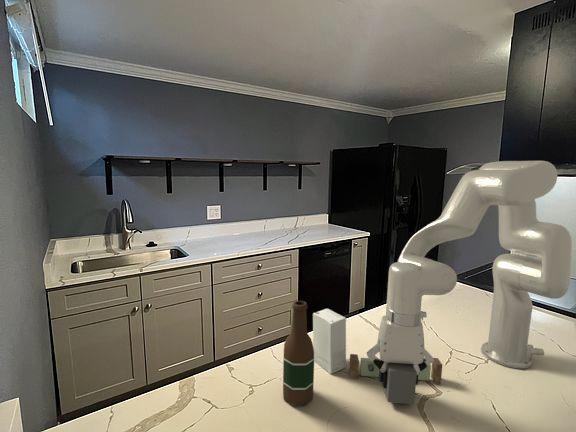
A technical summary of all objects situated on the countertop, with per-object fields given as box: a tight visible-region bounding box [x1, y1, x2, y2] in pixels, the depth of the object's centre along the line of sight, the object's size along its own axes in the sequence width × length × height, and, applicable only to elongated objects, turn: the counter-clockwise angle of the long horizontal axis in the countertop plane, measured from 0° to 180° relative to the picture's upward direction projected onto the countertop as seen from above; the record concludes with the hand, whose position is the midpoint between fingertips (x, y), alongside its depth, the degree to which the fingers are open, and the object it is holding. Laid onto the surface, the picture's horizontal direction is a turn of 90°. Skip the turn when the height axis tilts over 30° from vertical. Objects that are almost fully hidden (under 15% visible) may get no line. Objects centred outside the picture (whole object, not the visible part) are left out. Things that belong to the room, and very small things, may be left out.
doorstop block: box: [383, 363, 417, 405], centre depth 75 cm, size 6×7×8 cm
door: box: [359, 357, 432, 382], centre depth 82 cm, size 18×2×4 cm, turn 85°
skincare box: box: [312, 308, 347, 374], centre depth 88 cm, size 8×6×15 cm
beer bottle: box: [282, 300, 315, 407], centre depth 74 cm, size 8×8×24 cm
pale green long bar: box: [348, 353, 443, 385], centre depth 83 cm, size 23×3×6 cm, turn 85°
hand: (397, 384), depth 75 cm, fingers closed on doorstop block, 6 cm apart
